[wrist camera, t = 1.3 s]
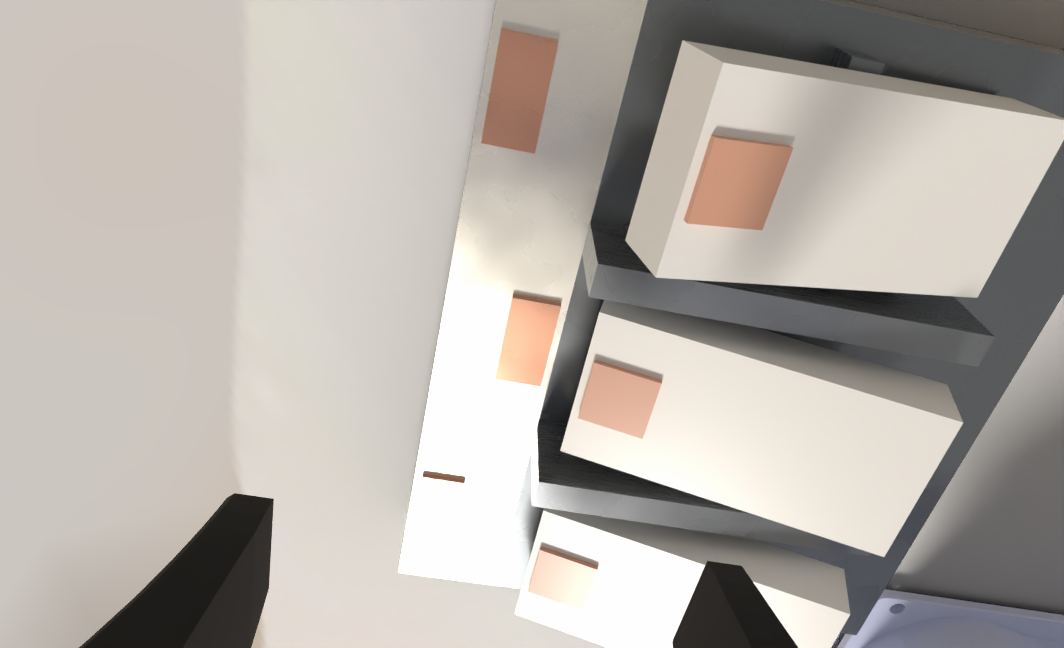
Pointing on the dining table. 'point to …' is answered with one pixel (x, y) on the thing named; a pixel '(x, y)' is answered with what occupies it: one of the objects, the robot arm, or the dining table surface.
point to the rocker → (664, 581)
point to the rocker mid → (760, 422)
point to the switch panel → (620, 276)
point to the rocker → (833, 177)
